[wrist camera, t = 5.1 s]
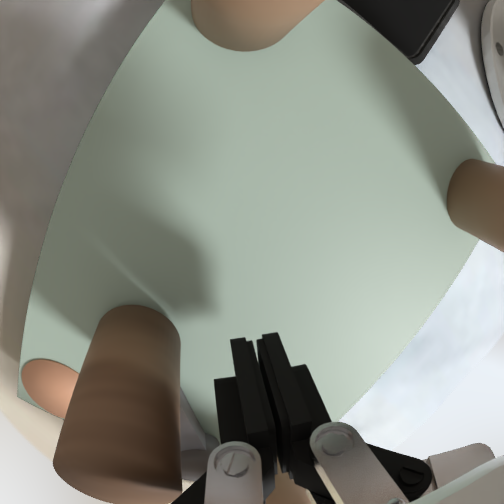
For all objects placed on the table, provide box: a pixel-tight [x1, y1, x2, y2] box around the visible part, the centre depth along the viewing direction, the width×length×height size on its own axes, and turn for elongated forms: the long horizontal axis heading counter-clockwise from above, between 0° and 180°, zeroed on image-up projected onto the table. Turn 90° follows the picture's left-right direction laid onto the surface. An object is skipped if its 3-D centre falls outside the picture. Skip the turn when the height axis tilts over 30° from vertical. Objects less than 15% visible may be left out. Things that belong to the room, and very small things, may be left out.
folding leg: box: [53, 305, 220, 504], centre depth 11 cm, size 11×4×7 cm, turn 10°
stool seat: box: [17, 0, 504, 504], centre depth 11 cm, size 24×18×9 cm
